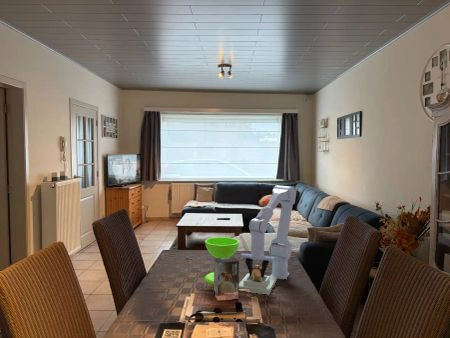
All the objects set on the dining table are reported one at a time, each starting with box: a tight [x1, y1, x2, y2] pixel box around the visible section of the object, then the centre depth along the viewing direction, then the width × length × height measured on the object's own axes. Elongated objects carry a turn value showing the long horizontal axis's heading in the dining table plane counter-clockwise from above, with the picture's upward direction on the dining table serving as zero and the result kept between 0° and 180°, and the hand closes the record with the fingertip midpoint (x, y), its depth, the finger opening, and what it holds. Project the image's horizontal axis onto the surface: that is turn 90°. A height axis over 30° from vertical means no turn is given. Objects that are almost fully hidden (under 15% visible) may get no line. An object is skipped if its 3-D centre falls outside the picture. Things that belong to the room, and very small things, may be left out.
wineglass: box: [204, 236, 240, 285], centre depth 169 cm, size 16×16×18 cm
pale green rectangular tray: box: [239, 272, 278, 296], centre depth 162 cm, size 18×14×4 cm
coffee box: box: [213, 256, 240, 294], centre depth 148 cm, size 9×6×16 cm
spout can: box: [251, 264, 262, 282], centre depth 160 cm, size 5×5×6 cm
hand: (256, 276), depth 160 cm, fingers closed on spout can, 5 cm apart
